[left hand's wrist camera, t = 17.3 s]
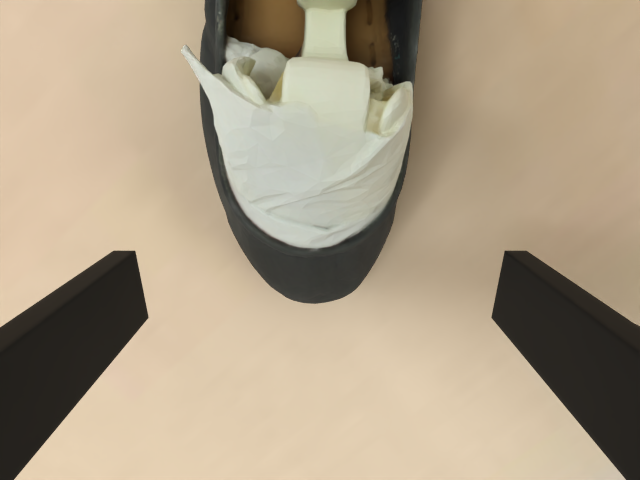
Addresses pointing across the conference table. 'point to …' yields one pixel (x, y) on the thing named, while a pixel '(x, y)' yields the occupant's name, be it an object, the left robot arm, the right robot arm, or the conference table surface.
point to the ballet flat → (308, 132)
